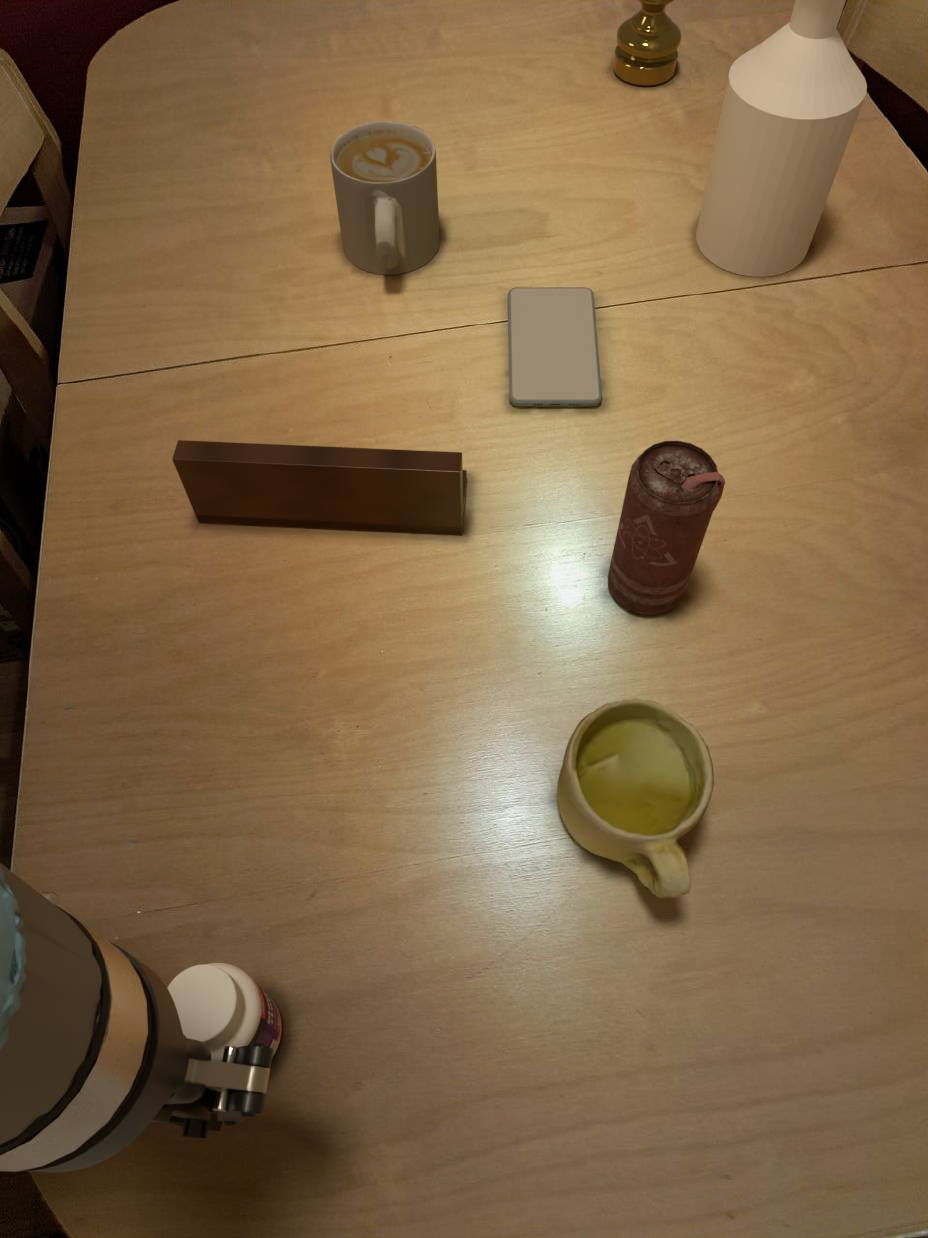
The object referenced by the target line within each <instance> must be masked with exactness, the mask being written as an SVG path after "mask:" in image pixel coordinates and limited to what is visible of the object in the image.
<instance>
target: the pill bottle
mask: <svg viewBox="0 0 928 1238" xmlns="http://www.w3.org/2000/svg"><path fill="white" fill-rule="evenodd" d="M167 989H168V990H169V992H170V994H171V996H172V998H173V1001H174V1003H175V1006H176V1009H177V1012H178V1016H179V1019H180V1023H181V1027H182V1031H183V1035H185V1036H186V1038H190V1039H194V1040H198V1041H201V1042H203V1043H205V1044H206V1045H207V1046H208V1047H209V1049H210V1052H211V1060H213V1061H220V1062H222V1059H223V1054H224V1049H225V1047H226V1046H235V1047H241V1046H248V1045H249V1046H252V1045H254V1043H263V1044H266V1047H268V1048H272V1049H274V1050H273V1056H272V1058H273V1057H274V1056H275V1054H276V1052H277V1049H278V1047H279V1044H280V1041H281V1036H282V1030H283V1029H282V1028H283V1027H282V1017H281V1014H280V1010H279V1008H278V1007H277V1004H276V1003H275V1002H274V1000H273V998H272V997H271V996H270V995H269V994H268V993H267V992H266V991H265V990H264V989H263V988H262V987H261V986H260V985H259V984H258V983H257V982H256V981H255V980H254V979H253V978H252V977H251V975H250V974H248V972H246V971H244V970H243V969H241V968H239V967H238V966H236V965H233V964H230V963H226V962H210V963H205V964H203V963H202V964H196V965H193V966H190V967H188V968H185V969H184V970H182V971H181V972H179V973H178V974H177V975H176V976H175V977H174V978H173V979H172V980H171V981H170V982H169V985H168V986H167Z"/></svg>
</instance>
